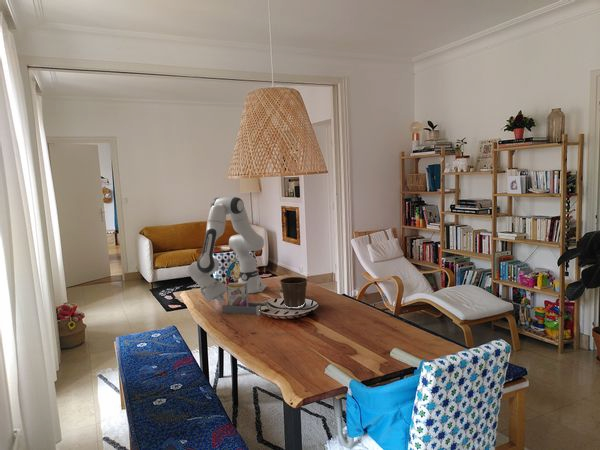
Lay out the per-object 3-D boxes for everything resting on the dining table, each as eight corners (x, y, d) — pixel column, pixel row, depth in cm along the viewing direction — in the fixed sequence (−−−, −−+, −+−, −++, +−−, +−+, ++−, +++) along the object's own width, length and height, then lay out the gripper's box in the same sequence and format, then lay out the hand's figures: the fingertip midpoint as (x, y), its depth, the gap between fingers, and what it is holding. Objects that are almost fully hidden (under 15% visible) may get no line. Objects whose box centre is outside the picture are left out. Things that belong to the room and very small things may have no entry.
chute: (231, 307, 270) (231, 298, 270) (268, 309, 262) (267, 300, 262) (221, 313, 259) (221, 304, 259) (259, 315, 251) (258, 306, 250)
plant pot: (314, 306, 263) (313, 279, 261) (291, 312, 253) (289, 284, 252) (298, 301, 276) (297, 275, 274) (276, 306, 267) (274, 280, 265)
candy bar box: (228, 312, 260) (226, 284, 258) (230, 309, 265) (228, 282, 263) (247, 312, 259) (245, 284, 257) (249, 309, 264) (247, 282, 262)
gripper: (202, 285, 256) (218, 303, 254) (220, 277, 275) (235, 293, 273) (195, 293, 258) (211, 310, 256) (214, 284, 277) (229, 300, 275)
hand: (224, 301), depth 265 cm, fingers closed
